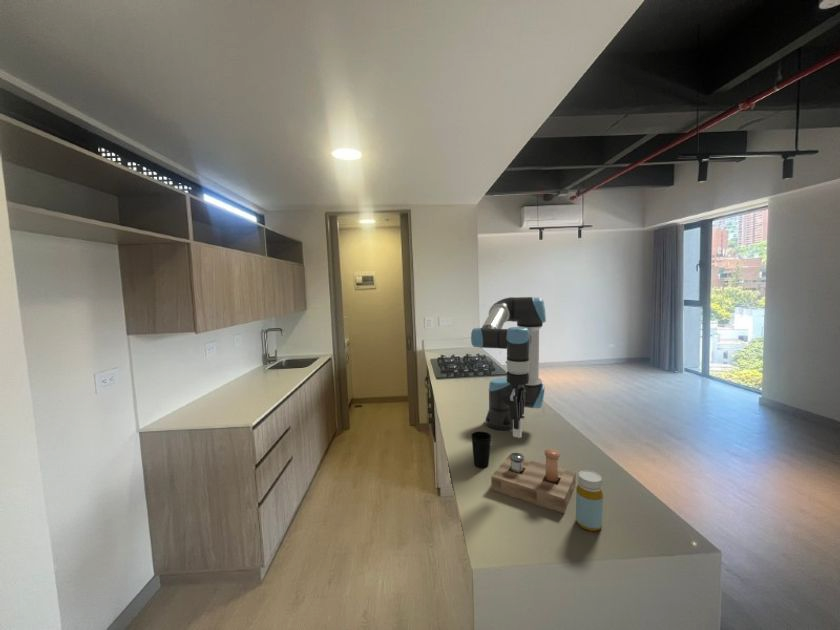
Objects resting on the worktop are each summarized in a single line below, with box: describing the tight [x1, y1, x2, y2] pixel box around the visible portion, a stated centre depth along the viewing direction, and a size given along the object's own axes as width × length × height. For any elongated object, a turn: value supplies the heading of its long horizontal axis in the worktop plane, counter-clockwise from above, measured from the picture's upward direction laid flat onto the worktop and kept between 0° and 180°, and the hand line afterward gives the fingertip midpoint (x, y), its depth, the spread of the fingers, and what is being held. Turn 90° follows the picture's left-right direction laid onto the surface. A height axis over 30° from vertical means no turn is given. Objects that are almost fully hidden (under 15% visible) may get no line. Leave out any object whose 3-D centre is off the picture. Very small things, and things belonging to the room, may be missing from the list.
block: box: [490, 454, 577, 515], centre depth 123 cm, size 18×24×5 cm
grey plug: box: [509, 452, 525, 475], centre depth 126 cm, size 5×5×9 cm
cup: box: [470, 431, 492, 469], centre depth 139 cm, size 8×8×12 cm
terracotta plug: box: [544, 448, 561, 481], centre depth 119 cm, size 5×5×9 cm
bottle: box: [575, 470, 604, 532], centre depth 103 cm, size 7×7×15 cm
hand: (517, 436), depth 125 cm, fingers closed
